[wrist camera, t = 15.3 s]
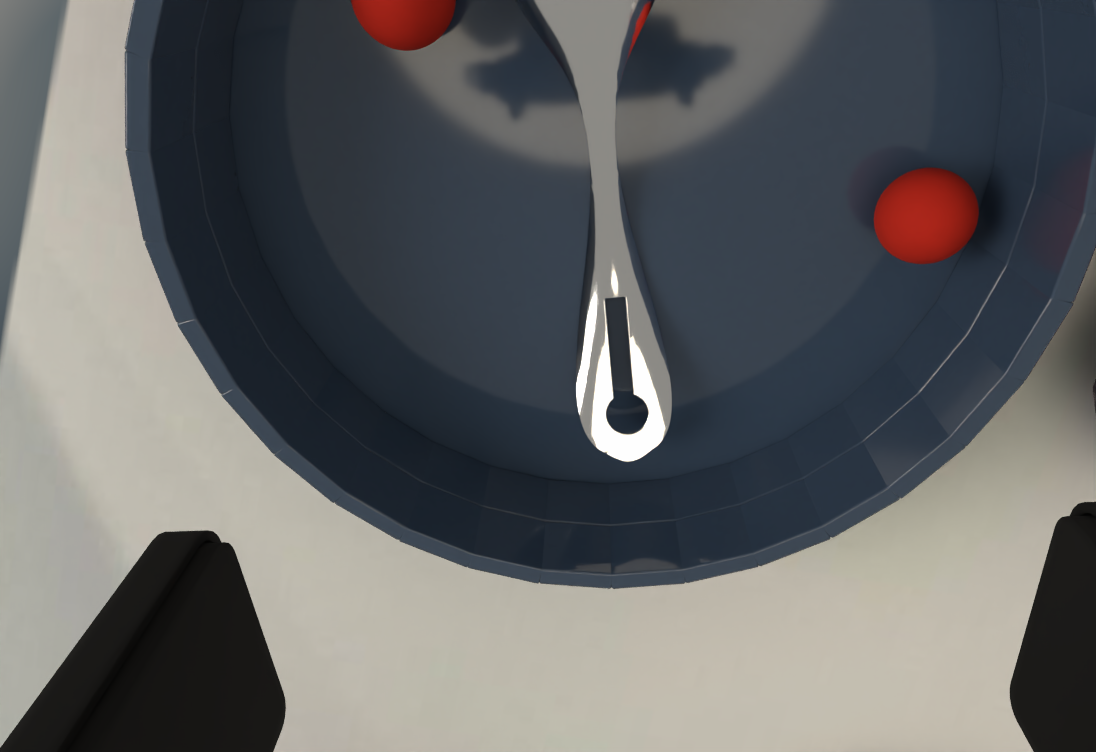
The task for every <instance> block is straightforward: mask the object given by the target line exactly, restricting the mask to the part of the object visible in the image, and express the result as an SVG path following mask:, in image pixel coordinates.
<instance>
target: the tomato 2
mask: <svg viewBox="0 0 1096 752" xmlns="http://www.w3.org/2000/svg"><path fill="white" fill-rule="evenodd" d="M978 215H979V209H978V202H977V199H976V196H975V193H974V192H973V190H972V188H971V187H970V185H969V184H968V183H967V182H966V181H965V180H964V179H963V178H961V177H960V176H959V175H957V174H955V173H953V172H951V171H948V170H945V169H941V168H921V169H916V170H913V171H910V172H907V173H905V174H903V175H901V176H900V177H898V178H897V179H895V180H894V181H893V182H892V183H891V184H889V185H888V187H887V188H886V189H885V190H884V191H883V193H882V194H881V196H880V198H879V200H878V202H877V205H876V208H875V212H874V227H875V232H876V235H877V237H878V239H879V241H880V243H881V244H882V246H883V247H884V248H885V249H886V250H887V251H888V252H889V253H890V254H891V255H893V256H894V257H896V258H898V259H900V260H902V261H905V262H909V263H914V264H930V263H935V262H939V261H942V260H944V259H947V258H949V257H951V256H952V255H954V254H956V253H957V252H958V251H959V250H961V249H962V248H963V247H964V246H965V245H966V243H967V242H968V241H969V240H970V238H971V236H972V235H973V233H974V231H975V228H976V225H977V222H978Z"/></svg>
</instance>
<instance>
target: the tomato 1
mask: <svg viewBox="0 0 1096 752" xmlns="http://www.w3.org/2000/svg"><path fill="white" fill-rule="evenodd" d="M351 3H352V7H353V10H354V12H355V15H356V17H357V19H358V21H359V22H360V24H361V26H362V27H363V28H364V30H365V31H366V32H367V33H368V34H369V35H370V36H371V37H372V38H374V39H375V40H376V41H378V42H379V43H381V44H383V45H385V46H387V47H389V48H392V49H396V50H403V51H411V50H417V49H421V48H424V47H426V46H428V45H430V44H432V43H433V42H435V41H436V40H437V39H439V38H440V37H441V36H442V35H443V33H444V32H445V31H446V29H447V28H448V26H449V24H450V22H451V20H452V17H453V14H454V10H455V5H456V0H351Z"/></svg>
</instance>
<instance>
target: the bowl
mask: <svg viewBox="0 0 1096 752" xmlns="http://www.w3.org/2000/svg"><path fill="white" fill-rule="evenodd" d="M125 49H126V51H125V146H126V149H127V150H126V156H127V161H128V166H129V171H130V176H131V181H132V186H133V191H134V196H135V201H136V206H137V211H138V216H139V221H140V226H141V231H142V235H143V240H144V241H145V245H146V248H147V250H148V253H149V255H150V258H151V260H152V263H153V265H154V268H155V270H156V273H157V275H158V278H159V280H160V283H161V285H162V288H163V290H164V293H165V295H166V298H167V300H168V303H169V305H170V308H171V310H172V313H173V315H174V318H175V320H176V322H178V327H179V328H180V330H181V331H182V333H183V335H184V336H185V338H186V339H187V341H188V343H189V344H190V346H191V347H192V349H193V351H194V352H195V354H196V355H197V357H198V359H199V360H200V362H201V364H202V365H203V367H204V368H205V370H206V372H207V373H208V375H209V376H210V378H211V380H212V381H213V383H214V384H215V386H216V388H217V389H218V391H219V392H220V393H221V394H222V397H223V398H224V399H225V400H226V401H227V402H228V403H229V405H230V406H231V407H232V408H233V409H234V410H235V411H236V413H237V414H238V415H239V416H240V417H241V418H242V419H243V420H244V422H245V423H246V424H247V425H248V426H249V427H250V428H251V429H252V431H253V432H254V433H255V434H256V435H257V436H258V437H259V438H260V440H261V441H262V442H263V443H264V444H265V445H266V446H267V447H268V449H269V450H270V451H271V452H272V453H273V454H275V456H276V457H277V458H278V459H280V460H281V461H282V462H283V463H285V464H286V465H287V466H288V467H290V468H291V469H292V470H293V471H294V472H296V473H297V474H298V475H299V476H301V477H302V478H303V479H304V480H306V481H307V482H308V483H309V484H310V485H312V486H313V487H314V488H315V489H317V490H318V491H319V492H320V493H322V494H323V495H324V496H325V497H326V498H328V499H329V500H330V501H331V502H333V503H334V502H335V504H336V505H338V506H340V507H342V508H343V509H345V510H347V511H349V512H350V513H352V514H354V515H355V516H357V517H359V518H361V519H362V520H364V521H366V522H368V523H369V524H371V525H373V526H374V527H376V528H378V529H380V530H381V531H383V532H385V533H387V534H388V535H390V536H392V537H393V538H395V539H397V540H400V542H403V543H405V544H408V545H411V546H413V547H416V548H418V549H421V550H423V551H426V552H429V553H431V554H434V555H436V556H439V557H441V558H444V559H447V560H449V561H452V562H454V563H457V564H459V565H462V566H464V567H468V568H471V569H475V570H480V571H484V572H489V573H493V574H498V575H502V576H507V577H511V578H516V579H520V580H524V581H529V582H533V583H539V582H540V583H541V584H554V585H567V586H581V587H595V588H609V589H610V588H611V587H612V588H613V589H618V588H631V587H644V586H658V585H671V584H684V583H685V582H686V583H689V582H694V581H698V580H703V579H707V578H712V577H716V576H721V575H725V574H729V573H734V572H738V571H743V570H747V569H752V568H756V567H758V565H759V566H762V565H765V564H768V563H770V562H773V561H775V560H778V559H781V558H783V557H786V556H788V555H791V554H793V553H796V552H799V551H801V550H804V549H806V548H809V547H811V546H814V545H817V544H819V543H822V542H824V541H827V540H829V539H830V537H832V538H833V537H835V536H837V535H839V534H840V533H842V532H844V531H846V530H847V529H849V528H851V527H852V526H854V525H856V524H858V523H859V522H861V521H863V520H865V519H866V518H868V517H870V516H872V515H873V514H875V513H877V512H879V511H880V510H882V509H884V508H886V507H887V506H889V505H891V504H892V503H894V502H896V501H898V500H899V499H900V498H903V497H904V496H906V495H907V494H908V493H909V492H911V491H912V490H913V489H914V488H915V487H917V486H918V485H919V484H920V483H922V482H923V481H924V480H925V479H927V478H928V477H929V476H930V475H932V474H933V473H934V472H935V471H937V470H938V469H939V468H940V467H942V466H943V465H944V464H945V463H947V462H948V461H949V460H950V459H952V458H953V457H954V456H955V455H956V454H958V453H959V452H960V451H961V450H963V449H964V448H965V446H967V445H968V444H969V443H970V442H971V441H972V440H973V439H974V438H975V436H976V435H977V434H978V433H979V432H980V431H981V430H982V429H983V427H984V426H985V425H986V424H987V423H988V422H989V421H990V420H991V419H992V417H993V416H994V415H995V414H996V413H997V412H998V411H999V410H1000V409H1001V407H1002V406H1003V405H1004V404H1005V403H1006V402H1007V401H1008V400H1009V399H1010V397H1011V396H1012V395H1013V394H1014V393H1015V392H1016V391H1017V390H1018V388H1019V387H1020V386H1021V385H1022V384H1023V383H1024V381H1025V380H1026V379H1027V377H1028V376H1029V374H1030V372H1031V371H1032V369H1033V368H1034V366H1035V364H1036V363H1037V361H1038V360H1039V358H1040V357H1041V355H1042V353H1043V352H1044V350H1045V349H1046V347H1047V345H1048V344H1049V342H1050V341H1051V339H1052V337H1053V336H1054V334H1055V333H1056V331H1057V329H1058V328H1059V326H1060V325H1061V323H1062V322H1063V320H1064V318H1065V317H1066V315H1067V314H1068V312H1069V310H1070V309H1071V307H1072V306H1073V303H1072V302H1073V301H1074V300H1075V298H1076V295H1077V293H1078V290H1079V288H1080V285H1081V283H1082V280H1083V278H1084V275H1085V273H1086V271H1087V268H1088V266H1089V263H1090V261H1091V258H1092V256H1093V253H1094V251H1095V248H1096V0H655V1H654V3H653V6H652V8H651V10H650V12H649V14H648V17H647V19H646V21H645V23H644V25H643V27H642V29H641V31H640V33H639V35H638V37H637V40H636V42H635V44H634V46H633V48H632V51H631V53H630V55H629V58H628V60H627V63H626V66H625V69H624V72H623V75H622V79H621V83H620V88H619V93H618V99H617V106H616V119H615V141H616V154H617V163H618V170H619V176H620V182H621V187H622V192H623V197H624V201H625V205H626V210H627V214H628V218H629V221H630V225H631V229H632V233H633V236H634V240H635V243H636V247H637V250H638V254H639V257H640V261H641V264H642V268H643V271H644V275H645V278H646V281H647V285H648V288H649V292H650V295H651V298H652V302H653V305H654V309H655V313H656V316H657V320H658V324H659V327H660V331H661V335H662V339H663V344H664V348H665V353H666V357H667V362H668V368H669V374H670V382H671V392H672V412H671V419H670V424H669V428H668V431H667V433H666V435H665V437H664V439H663V440H662V441H661V443H660V444H659V445H658V446H656V447H655V448H654V449H652V450H651V451H649V452H648V453H647V454H645V455H644V456H642V457H641V458H639V459H636V460H633V461H623V460H619V459H617V458H614V457H612V456H610V455H609V454H607V453H604V452H602V451H600V450H599V449H598V448H596V447H595V446H594V445H593V444H592V443H591V441H590V440H589V439H588V437H587V435H586V433H585V431H584V429H583V426H582V423H581V420H580V416H579V411H578V404H577V394H576V354H577V338H578V326H579V315H580V306H581V296H582V287H583V278H584V269H585V259H586V249H587V239H588V227H589V212H590V161H589V150H588V142H587V136H586V130H585V125H584V121H583V117H582V114H581V110H580V107H579V104H578V101H577V98H576V96H575V93H574V91H573V88H572V86H571V84H570V82H569V80H568V78H567V76H566V75H565V73H564V71H563V69H562V68H561V66H560V65H559V63H558V62H557V60H556V59H555V57H554V56H553V54H552V53H551V52H550V50H549V49H548V48H547V46H546V45H545V44H544V42H543V41H542V39H541V38H540V37H539V35H538V34H537V33H536V31H535V30H534V29H533V27H532V26H531V25H530V23H529V22H528V20H527V19H526V17H525V16H524V14H523V13H522V11H521V10H520V8H519V6H518V5H517V3H516V1H515V0H456V5H455V10H454V14H453V17H452V20H451V22H450V24H449V26H448V28H447V29H446V31H445V32H444V33H443V35H442V36H441V37H440V38H439V39H437V40H436V41H435V42H433V43H432V44H430V45H428V46H426V47H424V48H421V49H417V50H411V51H403V50H396V49H392V48H389V47H387V46H385V45H383V44H381V43H379V42H378V41H376V40H375V39H374V38H372V37H371V36H370V35H369V34H368V33H367V32H366V31H365V30H364V28H363V27H362V26H361V24H360V22H359V21H358V19H357V17H356V15H355V12H354V10H353V7H352V3H351V0H134V3H133V8H132V13H131V18H130V23H129V28H128V33H127V39H126V44H125ZM921 168H941V169H945V170H948V171H951V172H953V173H955V174H957V175H959V176H960V177H961V178H963V179H964V180H965V181H966V182H967V183H968V184H969V185H970V187H971V188H972V190H973V192H974V193H975V196H976V199H977V202H978V209H979V215H978V222H977V225H976V228H975V231H974V233H973V235H972V236H971V238H970V240H969V241H968V242H967V243H966V245H965V246H964V247H963V248H962V249H961V250H959V251H958V252H957V253H956V254H954V255H952V256H951V257H949V258H947V259H944V260H942V261H939V262H935V263H930V264H914V263H909V262H905V261H902V260H900V259H898V258H896V257H894V256H893V255H891V254H890V253H889V252H888V251H887V250H886V249H885V248H884V247H883V246H882V244H881V243H880V241H879V239H878V237H877V235H876V232H875V227H874V212H875V208H876V205H877V202H878V200H879V198H880V196H881V194H882V193H883V191H884V190H885V189H886V188H887V187H888V185H889V184H891V183H892V182H893V181H894V180H895V179H897V178H898V177H900V176H901V175H903V174H905V173H907V172H910V171H913V170H916V169H921ZM605 300H606V311H607V322H608V333H609V344H610V355H611V366H612V377H613V388H614V399H613V400H612V401H611V403H610V404H609V406H608V409H607V417H608V420H609V422H610V423H611V425H612V426H613V427H614V428H616V429H618V430H620V431H623V432H631V431H635V430H637V429H638V428H640V427H641V426H642V425H643V424H644V422H645V421H646V418H647V407H646V405H645V403H644V402H643V401H642V400H641V399H640V398H639V397H637V396H635V395H633V391H632V379H631V367H630V355H629V343H628V331H627V319H626V307H625V297H620V298H608V299H605Z"/></svg>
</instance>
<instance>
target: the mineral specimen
mask: <svg viewBox="0 0 1096 752" xmlns="http://www.w3.org/2000/svg"><path fill="white" fill-rule="evenodd" d="M1093 392H1094V402H1095V411H1096V379H1095V382H1094V386H1093Z"/></svg>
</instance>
